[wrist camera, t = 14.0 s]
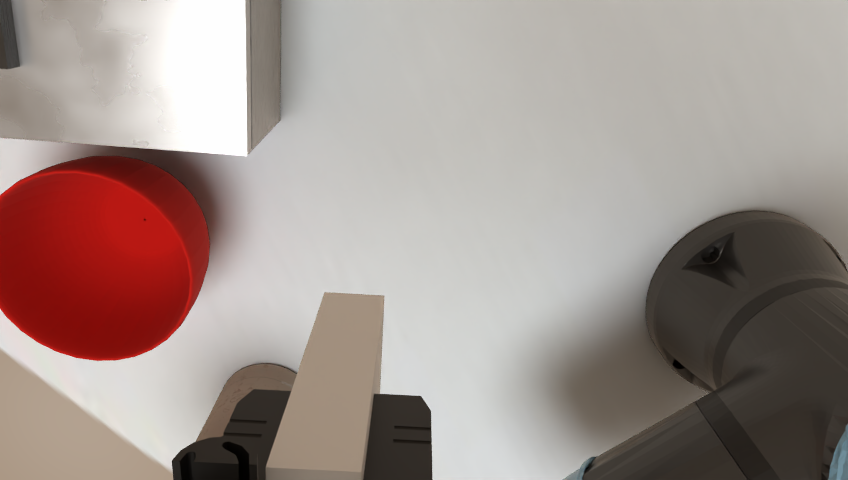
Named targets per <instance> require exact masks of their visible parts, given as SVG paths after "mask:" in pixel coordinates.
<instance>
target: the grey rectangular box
mask: <svg viewBox="0 0 848 480" xmlns="http://www.w3.org/2000/svg"><path fill="white" fill-rule="evenodd" d="M250 45H251V145H252V150H253V149H254V148H255V147H256V146H257V145H258V144H259V143H260V141H261V140H262V139H263V138H264V137H265V136H266V135H267V134H268V133H269V132H270V131H271V130H272V129H273V128H274V127H275V125H276V124H277V123H278V122H279V121H280V73H281V0H250Z"/></svg>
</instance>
